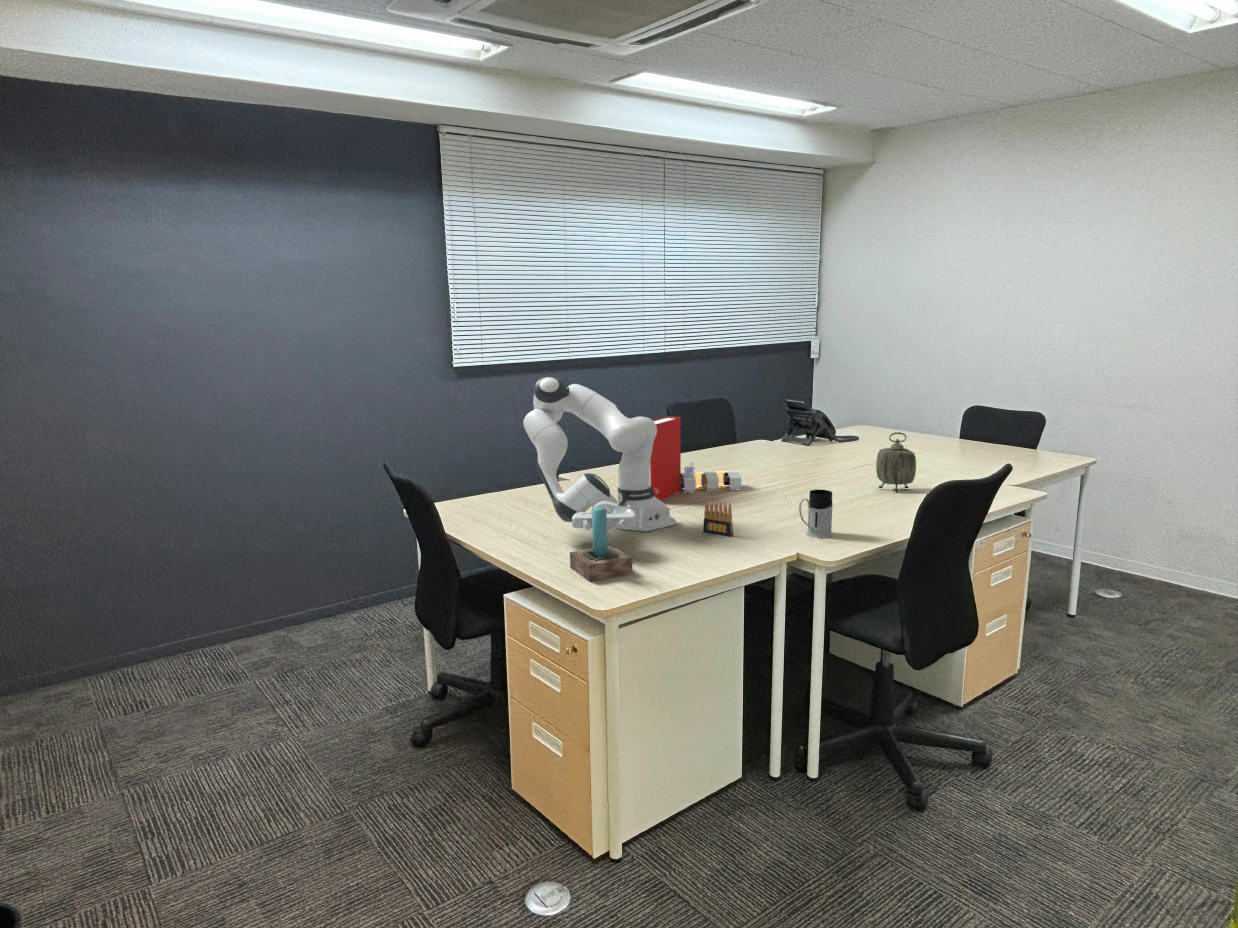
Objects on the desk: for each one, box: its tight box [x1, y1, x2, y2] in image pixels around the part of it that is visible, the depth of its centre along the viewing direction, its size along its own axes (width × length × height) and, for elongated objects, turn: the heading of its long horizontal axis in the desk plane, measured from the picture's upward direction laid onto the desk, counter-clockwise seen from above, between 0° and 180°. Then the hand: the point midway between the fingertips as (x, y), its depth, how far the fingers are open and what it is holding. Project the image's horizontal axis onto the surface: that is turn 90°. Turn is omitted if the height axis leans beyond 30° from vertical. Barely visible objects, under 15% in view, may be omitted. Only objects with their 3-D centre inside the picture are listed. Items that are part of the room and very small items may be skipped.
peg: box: [591, 507, 609, 558], centre depth 229 cm, size 4×4×18 cm
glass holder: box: [798, 489, 833, 539], centre depth 261 cm, size 9×14×15 cm, turn 122°
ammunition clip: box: [702, 498, 734, 538], centre depth 266 cm, size 11×2×12 cm, turn 56°
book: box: [649, 415, 682, 501], centre depth 320 cm, size 27×8×32 cm, turn 149°
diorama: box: [681, 462, 742, 494], centre depth 332 cm, size 25×10×13 cm, turn 98°
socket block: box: [569, 545, 633, 582], centre depth 230 cm, size 14×14×5 cm
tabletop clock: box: [875, 431, 917, 492], centre depth 322 cm, size 14×9×25 cm, turn 84°
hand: (603, 526), depth 237 cm, fingers open, 8 cm apart
